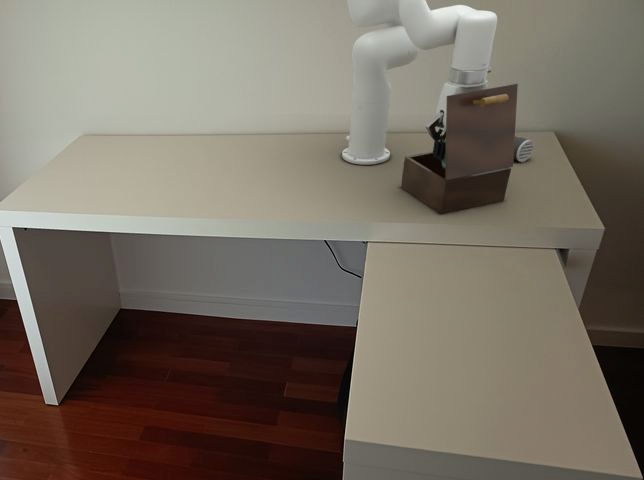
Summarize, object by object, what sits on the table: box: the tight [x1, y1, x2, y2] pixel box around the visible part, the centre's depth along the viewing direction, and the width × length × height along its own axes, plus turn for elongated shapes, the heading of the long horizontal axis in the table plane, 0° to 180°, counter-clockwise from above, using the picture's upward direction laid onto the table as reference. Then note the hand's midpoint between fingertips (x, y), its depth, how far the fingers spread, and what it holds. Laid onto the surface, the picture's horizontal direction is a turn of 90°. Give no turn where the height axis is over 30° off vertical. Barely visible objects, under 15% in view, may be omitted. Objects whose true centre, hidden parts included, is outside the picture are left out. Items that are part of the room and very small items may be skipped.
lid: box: [445, 83, 519, 180], centre depth 138 cm, size 17×17×5 cm
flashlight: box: [513, 136, 535, 163], centre depth 170 cm, size 15×5×5 cm, turn 25°
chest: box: [400, 151, 512, 215], centre depth 152 cm, size 17×17×8 cm
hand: (453, 154), depth 150 cm, fingers closed on alien toy, 7 cm apart
